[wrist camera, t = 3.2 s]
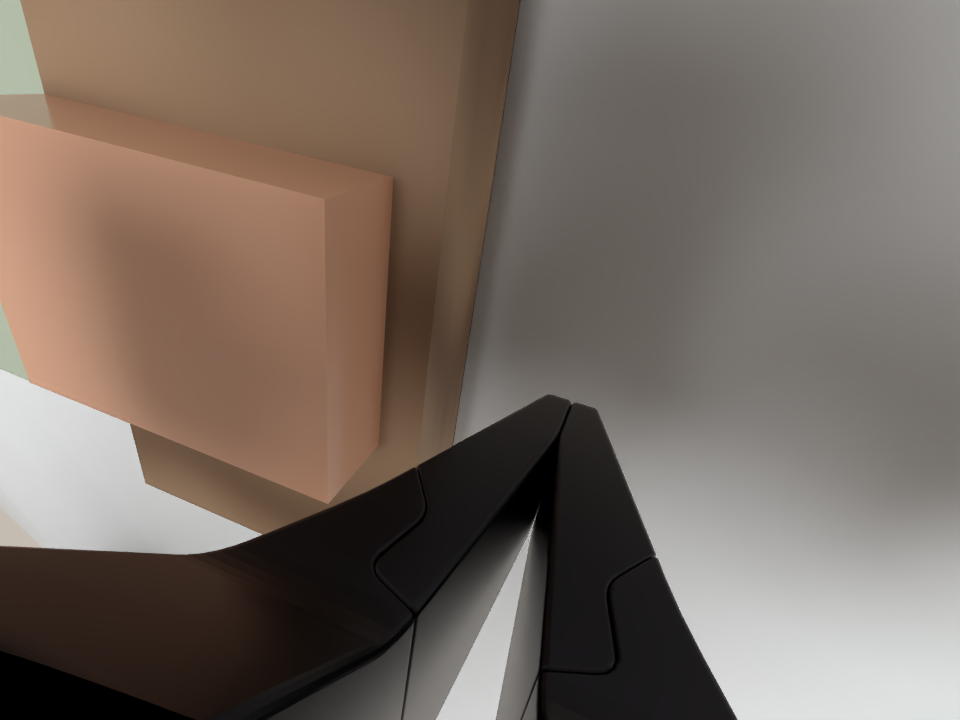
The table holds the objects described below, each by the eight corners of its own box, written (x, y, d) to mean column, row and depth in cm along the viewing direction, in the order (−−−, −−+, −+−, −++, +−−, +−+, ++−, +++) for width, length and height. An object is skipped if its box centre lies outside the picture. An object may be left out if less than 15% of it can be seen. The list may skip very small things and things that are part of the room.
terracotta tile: (378, 445, 12) (327, 504, 10) (110, 345, 14) (29, 382, 12) (393, 176, 9) (324, 198, 7) (44, 93, 11) (-75, 96, 9)
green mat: (198, 434, 18) (184, 443, 18) (1, 355, 21) (-16, 362, 20) (87, -194, 10) (56, -208, 10) (-220, -216, 12) (-258, -229, 12)
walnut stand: (439, 530, 16) (403, 596, 14) (207, 437, 18) (145, 483, 16) (544, -163, 8) (494, -246, 6) (103, -194, 10) (-48, -264, 8)
